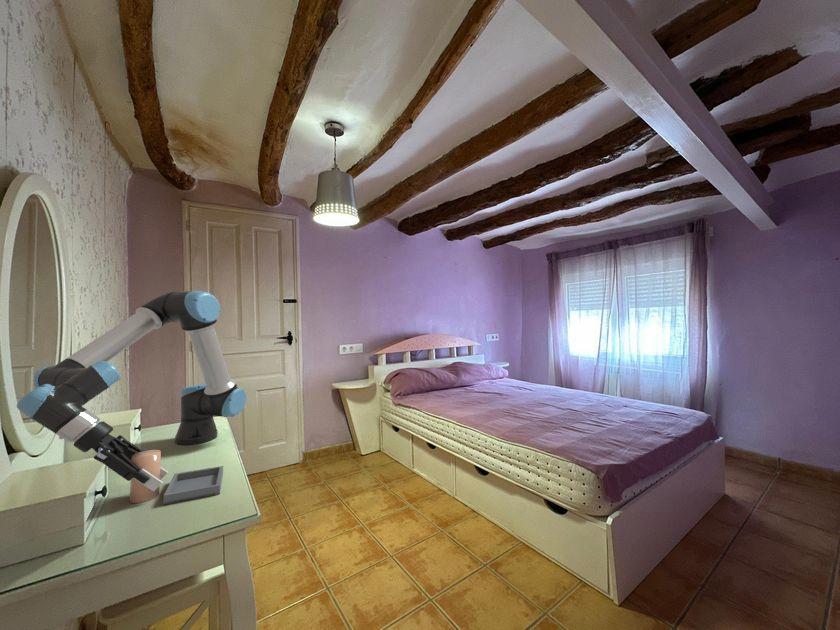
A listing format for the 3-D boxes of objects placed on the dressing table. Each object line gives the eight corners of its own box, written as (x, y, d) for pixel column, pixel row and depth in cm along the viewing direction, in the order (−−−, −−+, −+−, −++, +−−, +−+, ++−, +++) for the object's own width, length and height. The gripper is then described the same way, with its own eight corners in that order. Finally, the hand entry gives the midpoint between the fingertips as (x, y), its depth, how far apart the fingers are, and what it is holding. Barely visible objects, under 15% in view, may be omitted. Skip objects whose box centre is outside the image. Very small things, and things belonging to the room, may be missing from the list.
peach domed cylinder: (148, 490, 97) (150, 448, 98) (164, 493, 95) (166, 451, 96) (123, 501, 91) (125, 456, 91) (140, 504, 89) (142, 459, 90)
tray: (174, 481, 102) (174, 473, 103) (223, 473, 108) (223, 465, 109) (163, 505, 89) (163, 495, 89) (219, 494, 95) (219, 485, 95)
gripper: (88, 432, 95) (157, 478, 102) (53, 456, 78) (139, 509, 85) (113, 412, 98) (179, 458, 105) (85, 430, 81) (165, 484, 88)
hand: (161, 481), depth 95 cm, fingers closed on peach domed cylinder, 6 cm apart
